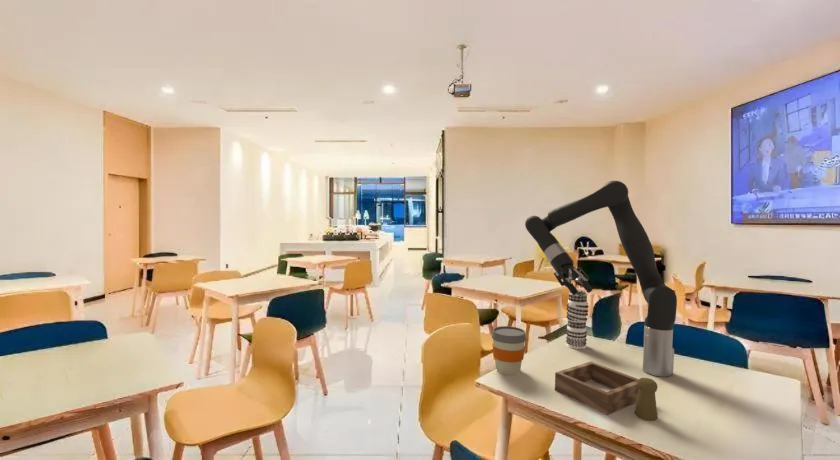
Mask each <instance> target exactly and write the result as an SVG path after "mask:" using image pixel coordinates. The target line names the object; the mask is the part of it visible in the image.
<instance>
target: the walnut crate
mask: <svg viewBox="0 0 840 460" xmlns="http://www.w3.org/2000/svg"><path fill="white" fill-rule="evenodd" d="M554 375H555V376H554V377H555V378H554V390H555V391H556V392H559V393H561V394H562V395H565V396H567V397H569V398H570V399H573V400H575V401H577V402H579V403H582V404H583V405H585V406H587V407H589V408H592V409H593V410H596V411H598V412H599V413H602V414H604V415H606V416H608V415H612V414H614V413H615V412H618V411H621V410H623V409H625V408H627V407H629V406H632V405H634V404H636V402H637V397H638V392H639V388H638V386H637V382H638V380H639V379H640V378H637V377H633V376H631V375H629V374H626V373H623V372H620V371H618V370H616V369H613V368H609V367H607V366H604V365H602V364H599V363H596V362H594V361H588V362H585V363H581V364H579V365H578V364H577V365H576V366H572V367H569V368H565V369H562V370H559V371H555V373H554ZM590 381H593V382H595V383H597V384H599V385H602V386H604V387H607V388H609V389H611V390H609V391H608V390H607V391H605V390H603V389H601V388H598V387H596V386H594V385H591V384H589V383H588V382H590Z"/></svg>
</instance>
